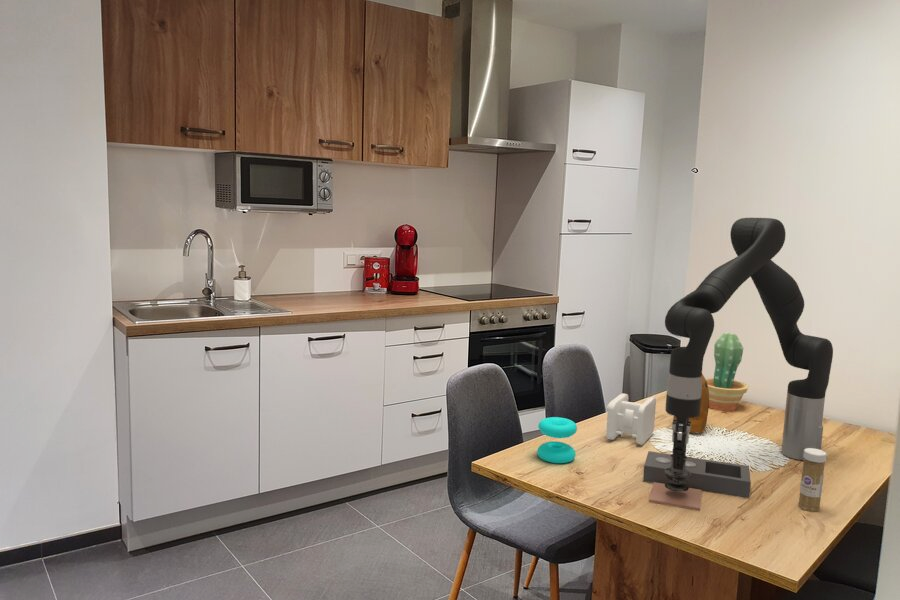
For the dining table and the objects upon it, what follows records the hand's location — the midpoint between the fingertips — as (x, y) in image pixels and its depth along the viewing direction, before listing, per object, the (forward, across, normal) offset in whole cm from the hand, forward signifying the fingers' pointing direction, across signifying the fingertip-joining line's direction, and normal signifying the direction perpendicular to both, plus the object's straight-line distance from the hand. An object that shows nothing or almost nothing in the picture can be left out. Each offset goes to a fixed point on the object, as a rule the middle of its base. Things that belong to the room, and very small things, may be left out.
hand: (678, 465), depth 164 cm
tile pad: (+8, 0, 0) cm, 8 cm away
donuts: (+8, +13, +31) cm, 35 cm away
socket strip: (+8, +12, -4) cm, 15 cm away
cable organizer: (+8, +38, +15) cm, 42 cm away
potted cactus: (+8, +85, -10) cm, 86 cm away
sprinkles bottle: (+8, +7, -28) cm, 30 cm away
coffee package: (+8, +55, -1) cm, 55 cm away
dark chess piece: (+5, 0, 0) cm, 5 cm away
